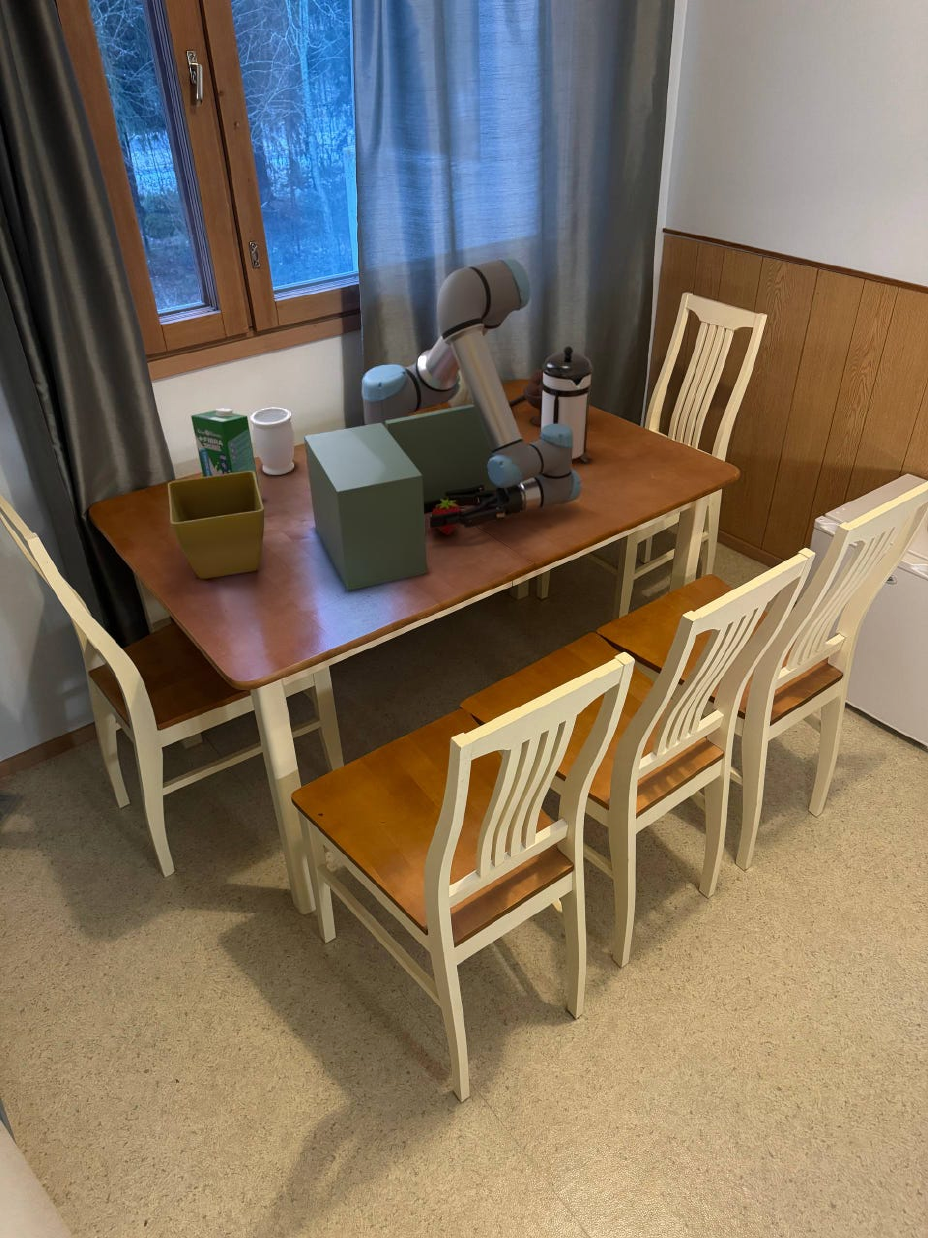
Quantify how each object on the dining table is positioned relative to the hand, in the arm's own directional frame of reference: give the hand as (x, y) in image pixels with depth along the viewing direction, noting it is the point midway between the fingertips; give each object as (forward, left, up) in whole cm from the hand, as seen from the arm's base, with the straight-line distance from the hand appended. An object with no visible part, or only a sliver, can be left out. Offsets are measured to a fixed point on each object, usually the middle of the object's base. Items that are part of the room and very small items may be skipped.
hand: (425, 515), depth 212 cm
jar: (-13, -53, -6) cm, 55 cm away
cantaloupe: (-68, -25, -6) cm, 73 cm away
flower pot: (+29, -35, -6) cm, 46 cm away
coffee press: (-54, +10, -6) cm, 55 cm away
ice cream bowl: (-71, -3, -6) cm, 71 cm away
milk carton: (+8, -50, -6) cm, 51 cm away
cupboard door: (-19, -7, -6) cm, 21 cm away
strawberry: (-4, +3, -6) cm, 8 cm away
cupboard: (+11, -9, -6) cm, 15 cm away
